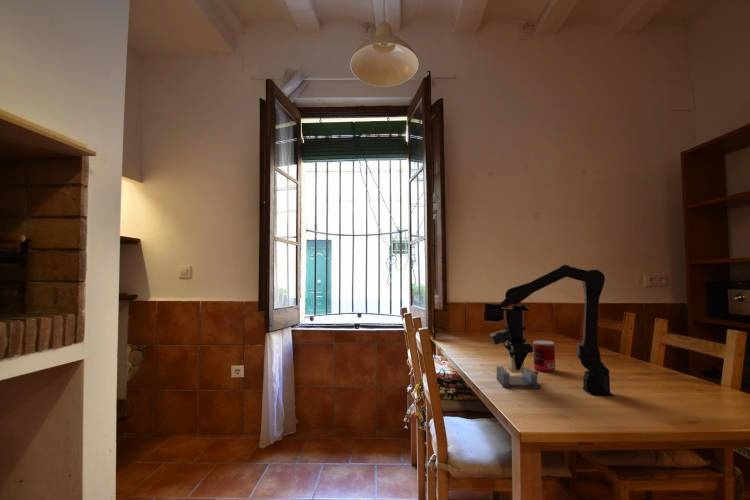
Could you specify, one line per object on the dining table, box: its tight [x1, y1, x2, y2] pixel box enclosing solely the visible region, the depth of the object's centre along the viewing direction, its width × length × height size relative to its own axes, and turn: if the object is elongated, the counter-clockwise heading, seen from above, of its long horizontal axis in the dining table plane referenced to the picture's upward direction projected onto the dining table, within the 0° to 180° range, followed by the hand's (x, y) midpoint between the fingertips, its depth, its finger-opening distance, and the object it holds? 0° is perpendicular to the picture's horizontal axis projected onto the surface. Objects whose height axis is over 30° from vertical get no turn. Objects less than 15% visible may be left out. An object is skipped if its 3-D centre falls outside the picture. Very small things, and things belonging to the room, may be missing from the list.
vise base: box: [496, 365, 541, 390], centre depth 127 cm, size 12×10×5 cm
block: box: [508, 354, 525, 374], centre depth 127 cm, size 4×4×5 cm
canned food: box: [532, 339, 556, 373], centre depth 145 cm, size 8×8×11 cm
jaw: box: [521, 366, 539, 384], centre depth 126 cm, size 5×10×3 cm, turn 174°
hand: (516, 368), depth 127 cm, fingers closed on block, 4 cm apart
